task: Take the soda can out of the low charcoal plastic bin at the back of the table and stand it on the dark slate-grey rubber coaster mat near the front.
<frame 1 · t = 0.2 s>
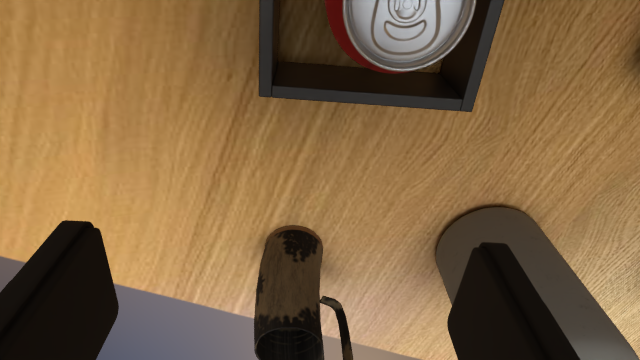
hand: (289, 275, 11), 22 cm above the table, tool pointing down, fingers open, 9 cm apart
mug: (303, 250, 40), on the table
water bottle: (481, 243, 40), on the table
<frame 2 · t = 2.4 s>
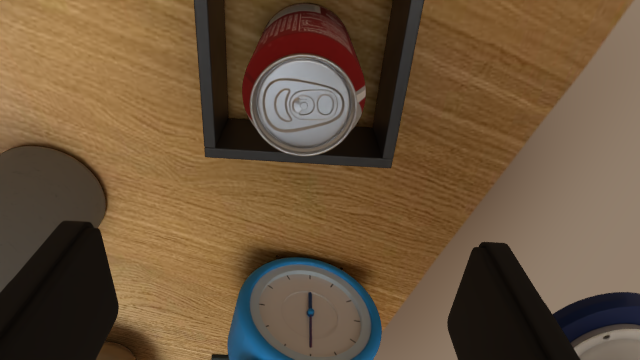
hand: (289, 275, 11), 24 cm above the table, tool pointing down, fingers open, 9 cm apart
alarm clock: (304, 275, 44), on the table
water bottle: (53, 187, 37), on the table
bin: (305, 49, 31), on the table
bowl: (110, 349, 49), on the table
soda can: (305, 49, 31), resting in bin
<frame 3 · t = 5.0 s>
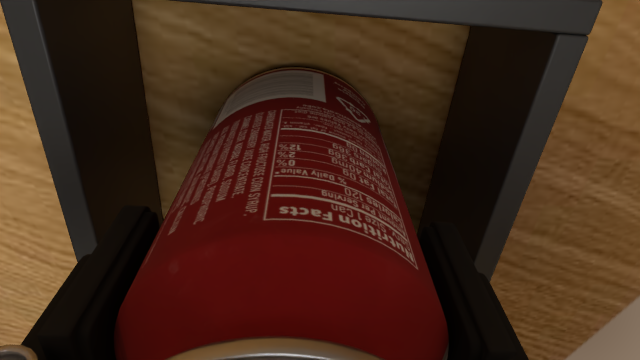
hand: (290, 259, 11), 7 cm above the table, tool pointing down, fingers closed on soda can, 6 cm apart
bin: (297, 142, 17), on the table
soda can: (297, 140, 17), resting in bin, touching gripper
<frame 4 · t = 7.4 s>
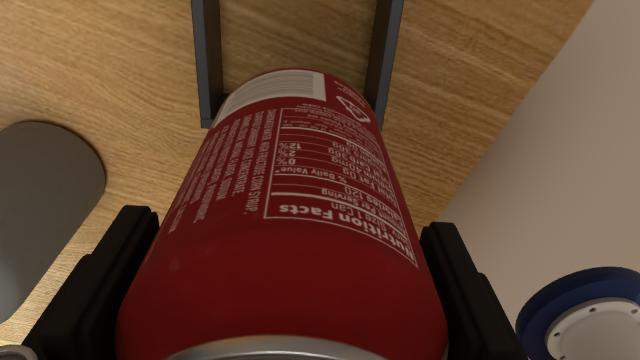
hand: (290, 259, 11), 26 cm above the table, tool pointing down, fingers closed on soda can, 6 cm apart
water bottle: (53, 163, 38), on the table
bin: (297, 24, 32), on the table
soda can: (297, 139, 17), point 18 cm above the table, touching gripper
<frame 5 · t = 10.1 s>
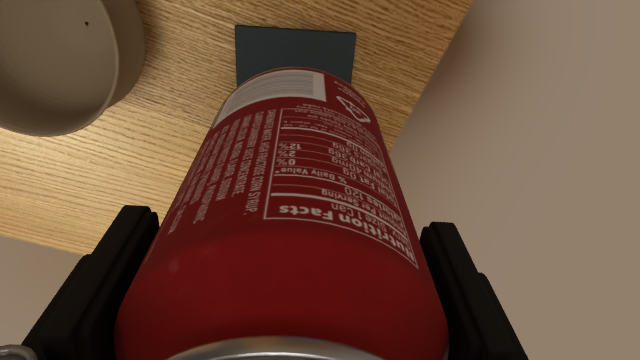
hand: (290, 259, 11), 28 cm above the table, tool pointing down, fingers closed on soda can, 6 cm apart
bowl: (87, 14, 33), on the table
soda can: (297, 140, 17), point 20 cm above the table, touching gripper
coaster mat: (294, 87, 37), on the table
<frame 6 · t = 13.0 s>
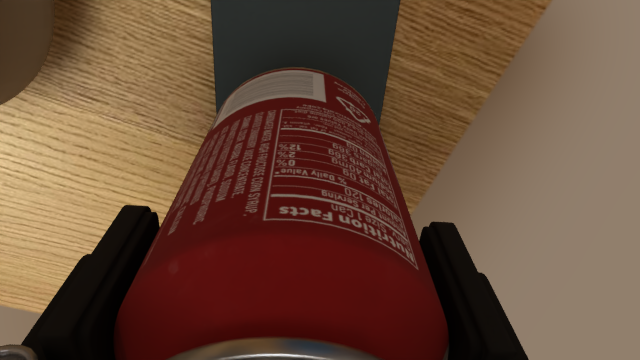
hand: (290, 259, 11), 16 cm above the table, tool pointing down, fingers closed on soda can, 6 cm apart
soda can: (297, 140, 17), point 8 cm above the table, touching gripper
coaster mat: (301, 79, 24), on the table
when the fingers open (8 cm above the table, at t = 15.4 s): soda can stays where it is, resting on coaster mat.
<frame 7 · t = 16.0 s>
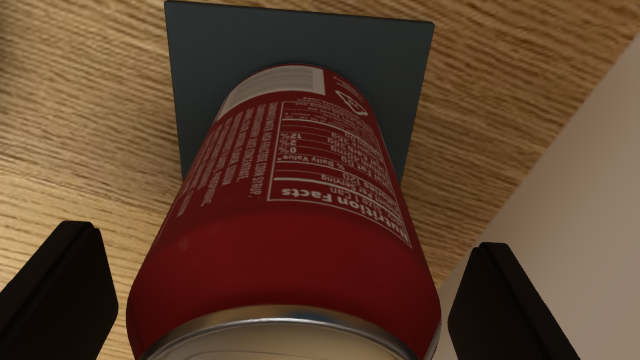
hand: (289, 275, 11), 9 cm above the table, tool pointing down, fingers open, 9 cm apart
soda can: (297, 134, 18), resting on coaster mat
coaster mat: (295, 131, 18), on the table
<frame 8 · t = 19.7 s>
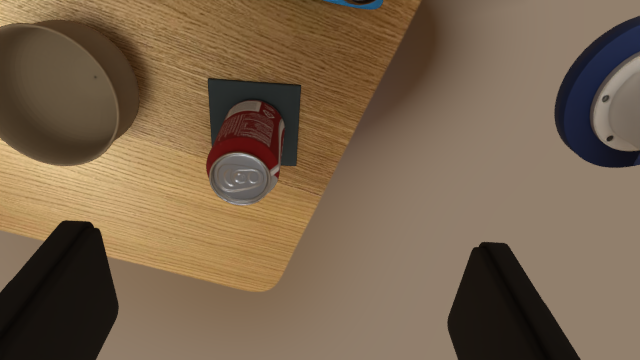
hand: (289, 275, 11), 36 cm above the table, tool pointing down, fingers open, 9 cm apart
bowl: (95, 69, 44), on the table
soda can: (255, 124, 47), resting on coaster mat
coaster mat: (255, 123, 48), on the table
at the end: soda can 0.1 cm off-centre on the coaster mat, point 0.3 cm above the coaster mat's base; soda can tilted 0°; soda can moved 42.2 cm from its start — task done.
